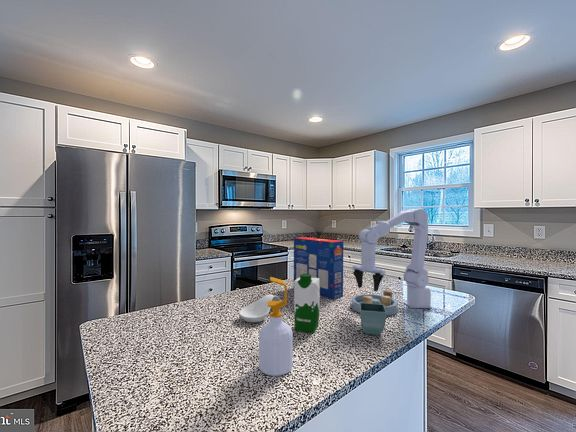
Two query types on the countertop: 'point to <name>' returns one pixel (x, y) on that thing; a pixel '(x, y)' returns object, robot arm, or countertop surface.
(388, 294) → the bead
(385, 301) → the bead
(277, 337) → the soap bottle
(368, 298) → the bead
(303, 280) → the milk carton
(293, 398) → the countertop surface
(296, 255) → the pasta box
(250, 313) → the spoon rest
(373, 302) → the ring tray
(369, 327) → the flower pot
